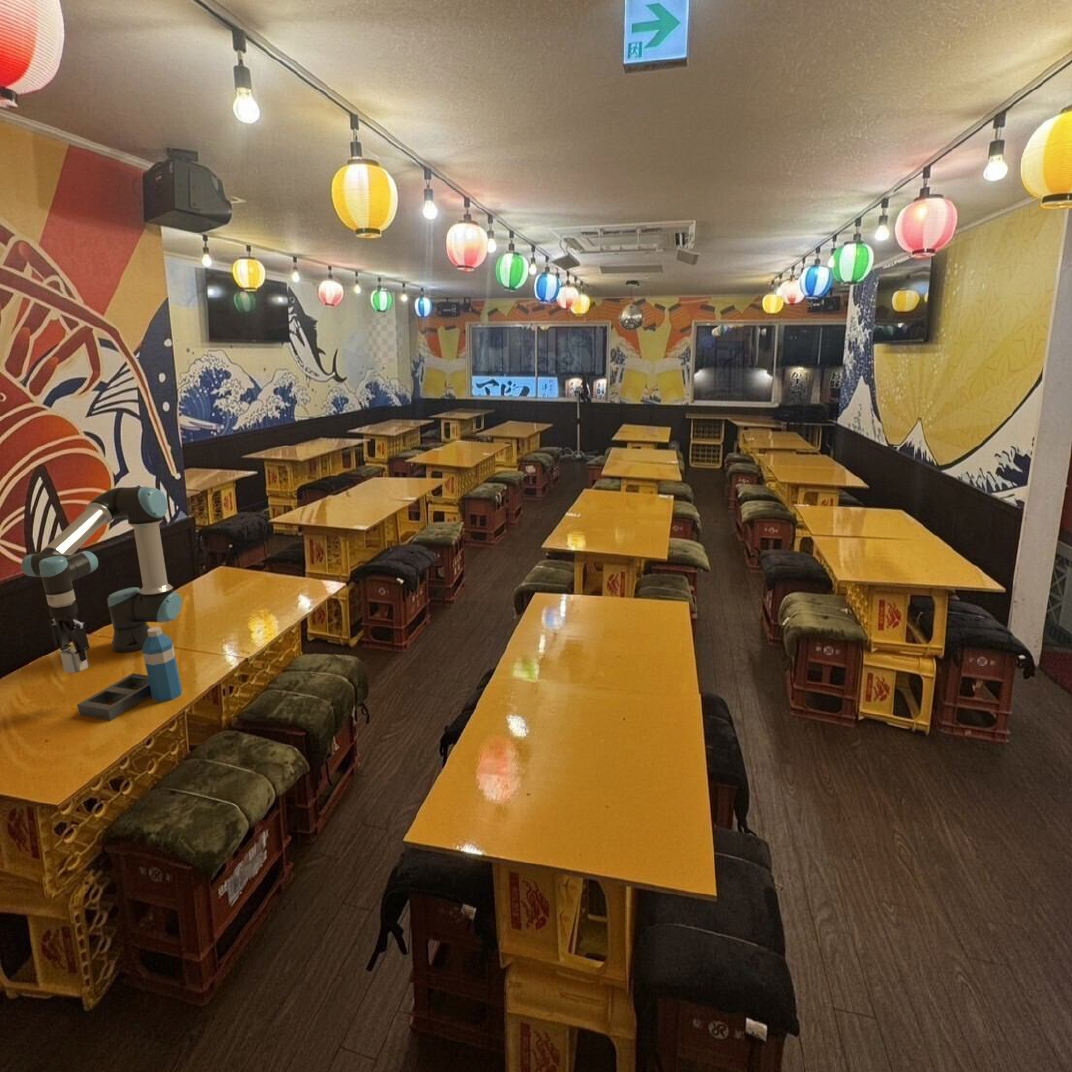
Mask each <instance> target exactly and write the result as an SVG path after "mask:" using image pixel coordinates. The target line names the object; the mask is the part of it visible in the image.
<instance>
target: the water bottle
mask: <svg viewBox="0 0 1072 1072" xmlns="http://www.w3.org/2000/svg"><path fill="white" fill-rule="evenodd" d="M147 632H148V637H147V639H146V641H145V643H144V645H143V647H142V649H141V651H142V654H143V655H142V656H143V659H144V665H145V669H146V675H148V679H149V684H150V689H151V693H152V695H151V697H152V701H154V702H158V703H163V702H167V701H173V700H175V699H176V698H178V697H180V696H182V693H183V689H182V683H181V679H180V678H181V677H180V674H179V669H178V665H177V658H176V653H175V649H174V643H173V640H172V639H171V638H170V637H169V636H167V634H165V633H163V632H162V627H160V626H154V627H150V629H148V631H147Z"/></svg>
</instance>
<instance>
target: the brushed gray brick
mask: <svg viewBox="0 0 1072 1072" xmlns="http://www.w3.org/2000/svg"><path fill="white" fill-rule="evenodd" d="M68 648H69V649H67V650H64V651H62V650H61V651H60V652H59V655H60V658H61V663H62V668H63V672H64V673H71V674H78V673H79V672H81V671H79V668H78V664H77V660H76V655H75V652H77V651H76V649H75V647H74V645H73V646H70V647H68ZM79 649H80V648H79ZM85 653H86V658H87V659H86V660H87V664H88V668H90V664H89V659H88V655H87V650H85Z"/></svg>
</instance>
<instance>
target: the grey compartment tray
mask: <svg viewBox="0 0 1072 1072" xmlns="http://www.w3.org/2000/svg"><path fill="white" fill-rule="evenodd" d="M132 688H135V689H132ZM150 697H152V693H151V689H150V684H149V679H148V674H140V673H134V672H133V673H131V674H129V675H128V676H125V677H123V678H122V679H119V681H116V682H115V683H114V684H111V685H110V686H108V687H106V688H104V689H103V690H100V691H99V692H97V693H95V694H93V695H92V696H90V697H88V698H86V699H85V700H83V701H81V702H80V703H77V704H76V705H77V709H78V714H79V716H81V717H88V718H94V719H99V720H104V721H112V720H114V719H115V718H117V717H119V716H121V715H122V714H124V713H125V712H127V711H129V710H131V709H132V708H134V707H135V706H137V705H139V704H140V703H141V702H143V701H145V700H146V699H148V698H150ZM108 702H109V703H110V702H111V703H112V704H107V703H108Z"/></svg>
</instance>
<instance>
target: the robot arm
mask: <svg viewBox="0 0 1072 1072" xmlns="http://www.w3.org/2000/svg"><path fill="white" fill-rule="evenodd" d="M167 510H168V501H167V497H166V496H165V494H164V493H163V492H162V491H161V490H160V489H159V488H156V487H147V486H134V487H133V486H132V487H131V486H129V487H123V486H122V487H121V486H119V487H114V488H111V489H108V490H107V491H105V492H102V493H101V494H99V495H98V496H97V497H95V498H93V500H91V501H90V502H89V503H88V504H87V505H86V506H85V509H84V511H83V512H82V513H81V514H80V515H79V516H78V517H76V519H74V521H72V522H71V524H69V525H68V526H67V527H66V528H65V529H64V530H62V532H60V534H58V535H57V536H55V538H54V539H53V540H51V542H49V544H47V545H46V546H45V547H44V548H43V549H41V550H40V552H38V553H37V554H36V553H31V554H28V555H25V556H24V557H23V558H22V561H21V563H20V564H21V565H20V568H21V571H22V572H23V573H24V574H25V575H26V576H27V577H36V578H41V581H42V584H43V588H44V592H45V597H46V601H47V605H48V606H49V607H48V610H49V614H50V617H51V618H52V619H50V620H48V624H49V626H50V629H51V632H52V637H53V641H54V645H55V648H56V649H58V648H59V650H60V651H61V652H62V651H64V650H67V649H69V648H71V647H72V645H73V646H74V647H75V649H76V651H77V652H75V655H76V660H77V664H78V668H79V671H80V672H82V671H84V670H86V669H88V668H89V667H88V664H89V663H88V664H87V660H86V659H88V657H87V658H86V655H87V652H86V653H85V650H86V651H88V650H89V649H90V644H89V639H88V636H87V631H86V622H85V621H81V622H80V621H79V619H78V617H77V614H78V612H79V609H78V604H77V601H76V593H75V591H74V587H73V581H75V580H77V579H79V578H82V577H84V576H87V575H89V574H91V573H93V572H94V571H96V570H97V568H98V567H99V560H98V557H97V556H96V555H95V554H94V553H93V552H91V551H88V550H85V551H80V552H78V553H75V552H77V550H79V549H80V547H82V546H83V545H84V544H85V543H86V542H87V541H88V540H89V539H90V538H91V537H92V536H93V535H94V534H95V533H96V532H98V530H99V529H100V528H101V527H102V526H104V525H107V524H109V523H111V522H112V521H113V520H116V519H119V518H125V519H126V518H127V522H128V525H129V526H130V527H132V528H133V531H134V539H135V543H136V544H135V546H136V550H137V551H136V552H137V557H138V562H139V563H138V564H139V570H140V575H141V582H142V587H141V588H140V587H136V586H135V587H128V588H124V589H121V590H117V591H116V592H113V593H111V594H109V595H108V597H107V608H108V611H109V615H110V621H111V624H112V627H113V636H112V642H111V646H112V651H114V652H116V653H131V652H136V651H140V650H142V647H143V645H144V643H145V641H146V639H147V637H148V632H147V631H148V629H150V628H151V627H150V626H149V624H148V623H160V624H161V623H170V622H173V621H174V620H176V619H177V618H178V616H179V614H180V612H181V610H182V605H183V604H182V597H181V595H180V594H179V593H178V592H174V587H173V586H172V585H171V584H169V582H168V576H167V570H166V563H165V556H164V549H163V545H162V537H161V531H160V529H161V528H160V524H161V523H162V522H163V521H164V520H163V518H164V517H165V516H166V515H167V512H168V511H167ZM70 640H71V641H72V643H73V644H70ZM79 648H80V649H79Z"/></svg>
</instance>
